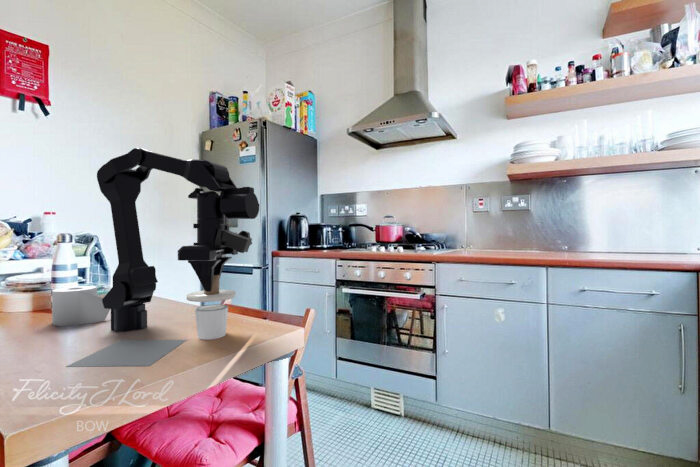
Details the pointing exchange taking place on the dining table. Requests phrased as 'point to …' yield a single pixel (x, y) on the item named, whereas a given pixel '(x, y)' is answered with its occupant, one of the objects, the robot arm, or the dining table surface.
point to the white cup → (211, 321)
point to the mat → (129, 353)
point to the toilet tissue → (77, 306)
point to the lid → (211, 293)
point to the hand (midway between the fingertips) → (211, 290)
